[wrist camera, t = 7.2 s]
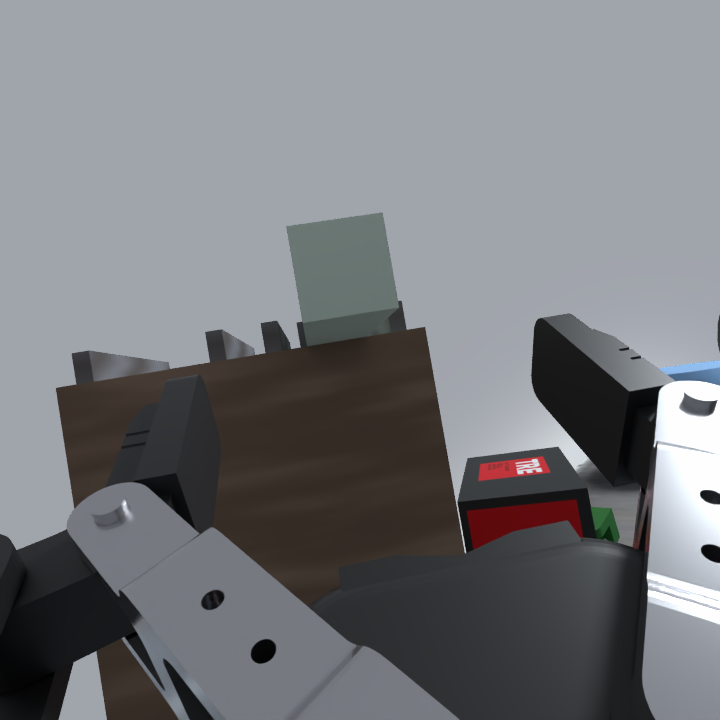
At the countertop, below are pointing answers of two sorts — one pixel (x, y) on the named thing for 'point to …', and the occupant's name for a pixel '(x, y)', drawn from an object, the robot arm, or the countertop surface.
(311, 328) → the grey-green flat block
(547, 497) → the cleaning product box
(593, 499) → the countertop surface
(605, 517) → the green blocky piece
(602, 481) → the countertop surface
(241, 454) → the wooden box
